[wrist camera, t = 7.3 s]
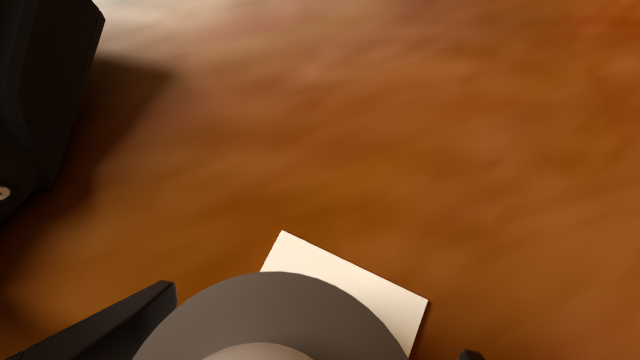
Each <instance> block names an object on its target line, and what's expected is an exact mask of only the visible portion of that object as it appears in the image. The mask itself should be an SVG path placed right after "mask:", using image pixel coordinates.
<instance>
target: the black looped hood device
mask: <svg viewBox="0 0 640 360" xmlns="http://www.w3.org/2000/svg"><path fill="white" fill-rule="evenodd" d="M104 23H105V18H104V16H103V14H102V12H101V11H100V10H99V8H98V7H97V6H96V5H95V4H94V3H93V1H92V0H0V224H1V223H2V222H3V221H4V220H5V219H6V218H7V217H8V216H9V215H10V214H11V213H12V212H13V211H14V210H15V209H16V208H17V207H18V206H19V205H20V204H21V203H22V202H23V201H24V200H26V199H27V197H28V196H29V195H31V194H33V193H35V192H37V191H41V190H46V189H49V188H50V187H51V186H52V185H53V184H54V183H55V180H56V177H57V174H58V171H59V167H60V164H61V161H62V158H63V155H64V151H65V148H66V145H67V142H68V139H69V135H70V132H71V129H72V126H73V123H74V119H75V116H76V113H77V110H78V107H79V103H80V100H81V97H82V94H83V91H84V87H85V84H86V81H87V78H88V75H89V71H90V68H91V65H92V62H93V59H94V55H95V52H96V49H97V46H98V43H99V39H100V36H101V33H102V30H103V27H104Z"/></svg>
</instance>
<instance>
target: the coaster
mask: <svg viewBox="0 0 640 360" xmlns="http://www.w3.org/2000/svg"><path fill="white" fill-rule="evenodd" d="M267 271H283V272H291V273H299V274H303V275H307V276H311V277H314V278H318V279H320V280H323V281H325V282H328V283H330V284H332V285H335V286H337V287H338V288H340V289H342V290H344V291H345V292H347V293H349V294H350V295H352V296H353V297H355V298H356V299H357V300H359V301H360V302H361V303H362V304H364V305H365V306H366V307H368V308H369V309H370V310H371V311H372V312H373V313H374V314H375V315H376V316H377V317H378V318H379V319H380V320H381V321H382V322H383V323H384V324H385V325H386V327H387V328H388V329H389V331H390V332H391V333H392V334H393V336H394V337H395V338H396V339H397V341H398V342H399V344H400V345H401V347H402V349H403V350H404V352H405V354H406V355H407V357H409V354H410V351H411V348H412V346H413V343H414V340H415V337H416V334H417V331H418V328H419V325H420V322H421V319H422V316H423V313H424V310H425V307H426V304H427V301H428V300H427V299H425V298H422V297H420V296H418V295H416V294H414V293H412V292H410V291H408V290H406V289H404V288H402V287H400V286H397V285H395V284H393V283H391V282H389V281H387V280H385V279H383V278H381V277H379V276H377V275H375V274H373V273H370V272H368V271H366V270H364V269H362V268H360V267H358V266H356V265H354V264H352V263H350V262H348V261H345V260H343V259H341V258H339V257H337V256H335V255H333V254H331V253H329V252H327V251H325V250H323V249H320V248H318V247H316V246H314V245H312V244H310V243H308V242H306V241H304V240H302V239H300V238H298V237H296V236H293V235H291V234H289V233H287V232H285V231H283V230H282V231H281V233H280V234H279V236H278V238H277V240H276V242H275V244H274V246H273V248H272V250H271V251H270V253H269V255H268V257H267V259H266V261H265V263H264V265H263V267H262V269H261V270H260V272H267Z"/></svg>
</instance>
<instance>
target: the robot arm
mask: <svg viewBox="0 0 640 360" xmlns="http://www.w3.org/2000/svg"><path fill="white" fill-rule="evenodd" d="M176 307H177V293H176V285H175V283H173V282H170V281H165V280H161V281H159V282H157V283H155V284H153V285H151V286H149V287H147V288H145V289H143V290H141V291H139V292H137V293H135V294H133V295H131V296H129V297H127V298H125V299H123V300H121V301H119V302H117V303H115V304H113V305H111V306H109V307H107V308H106V309H104V310H102V311H100V312H98V313H96V314H94V315H92V316H90V317H88V318H86V319H84V320H82V321H80V322H78V323H76V324H74V325H72V326H70V327H68V328H66V329H64V330H62V331H60V332H58V333H56V334H54V335H52V336H50V337H48V338H47V339H45V340H43V341H41V342H39V343H37V344H35V345H33V346H31V347H29V348H27V349H26V351H25V350H23V351H21V352H19V353H17V354H15V355H13V356H11V357H9V358H7V359H5V360H132V359H133V357H134V356H135V354H136V353H137V352H138V350H139V349H140V347H141V346H142V344H143V343H144V342H145V340H146V339H147V338H148V337H149V336H150V334H151V333H152V332H153V331H154V330H155V328H156V327H157V326H158V325H159V324H160V323H161V322H162V321H163V320H164V319H165V318H166V317H167V316H168V315H170V314H171V313H172V312H173V311H174V310H175V309H176ZM458 360H485V358H484V357H483V356H482V355H481V354H480V353H479V352H477V351H473V350H469V349H463V350H462V352H461V354H460V356H459V359H458Z"/></svg>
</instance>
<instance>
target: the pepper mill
mask: <svg viewBox="0 0 640 360" xmlns="http://www.w3.org/2000/svg"><path fill="white" fill-rule="evenodd" d="M132 360H409V358H408V357H407V355H406V354H405V352H404V350H403V349H402V347H401V345H400V344H399V342H398V341H397V339H396V338H395V337H394V336H393V334H392V333H391V332H390V331H389V329H388V328H387V327H386V325H385V324H384V323H383V322H382V321H381V320H380V319H379V318H378V317H377V316H376V315H375V314H374V313H373V312H372V311H371V310H370V309H369V308H368V307H366V306H365V305H364V304H362V303H361V302H360V301H359V300H357V299H356V298H355V297H353V296H352V295H350V294H349V293H347V292H345V291H344V290H342V289H340V288H338V287H337V286H335V285H332V284H330V283H328V282H325V281H323V280H320V279H318V278H314V277H311V276H307V275H303V274H299V273H291V272H283V271H267V272H256V273H250V274H244V275H240V276H237V277H233V278H230V279H226V280H224V281H222V282H219V283H217V284H215V285H212V286H210V287H208V288H206V289H204V290H203V291H201V292H199V293H198V294H196V295H194V296H193V297H191V298H189V299H188V300H187V301H186V302H184V303H183V304H182V305H180V306H179V307H178V308H176V309H175V310H174V311H173V312H172V313H171V314H170V315H168V316H167V317H166V318H165V319H164V320H163V321H162V322H161V323H160V324H159V325H158V326H157V327H156V328H155V330H154V331H153V332H152V333H151V334H150V336H149V337H148V338H147V339H146V340H145V342H144V343H143V344H142V346H141V347H140V349H139V350H138V352H137V353H136V354H135V356H134V357H133V359H132Z"/></svg>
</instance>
